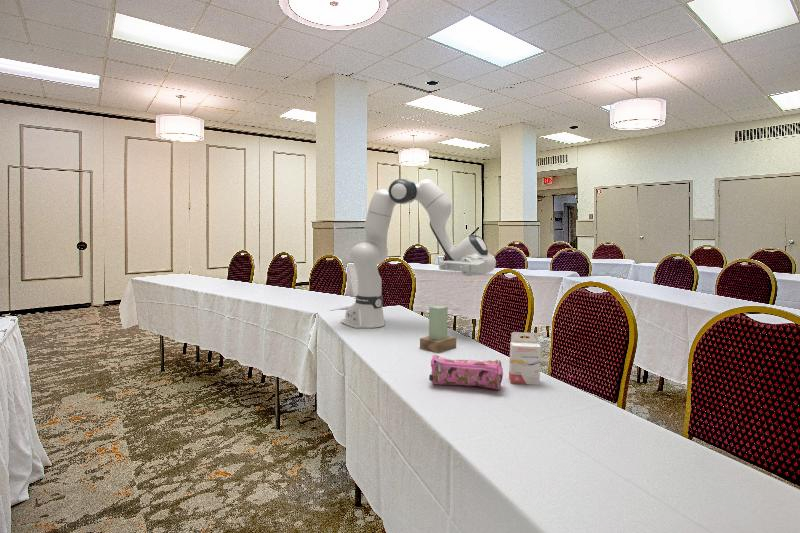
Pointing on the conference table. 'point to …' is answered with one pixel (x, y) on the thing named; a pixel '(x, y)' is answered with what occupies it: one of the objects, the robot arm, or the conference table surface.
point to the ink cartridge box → (524, 358)
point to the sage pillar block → (438, 322)
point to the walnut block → (437, 344)
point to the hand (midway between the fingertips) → (450, 267)
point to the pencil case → (466, 372)
